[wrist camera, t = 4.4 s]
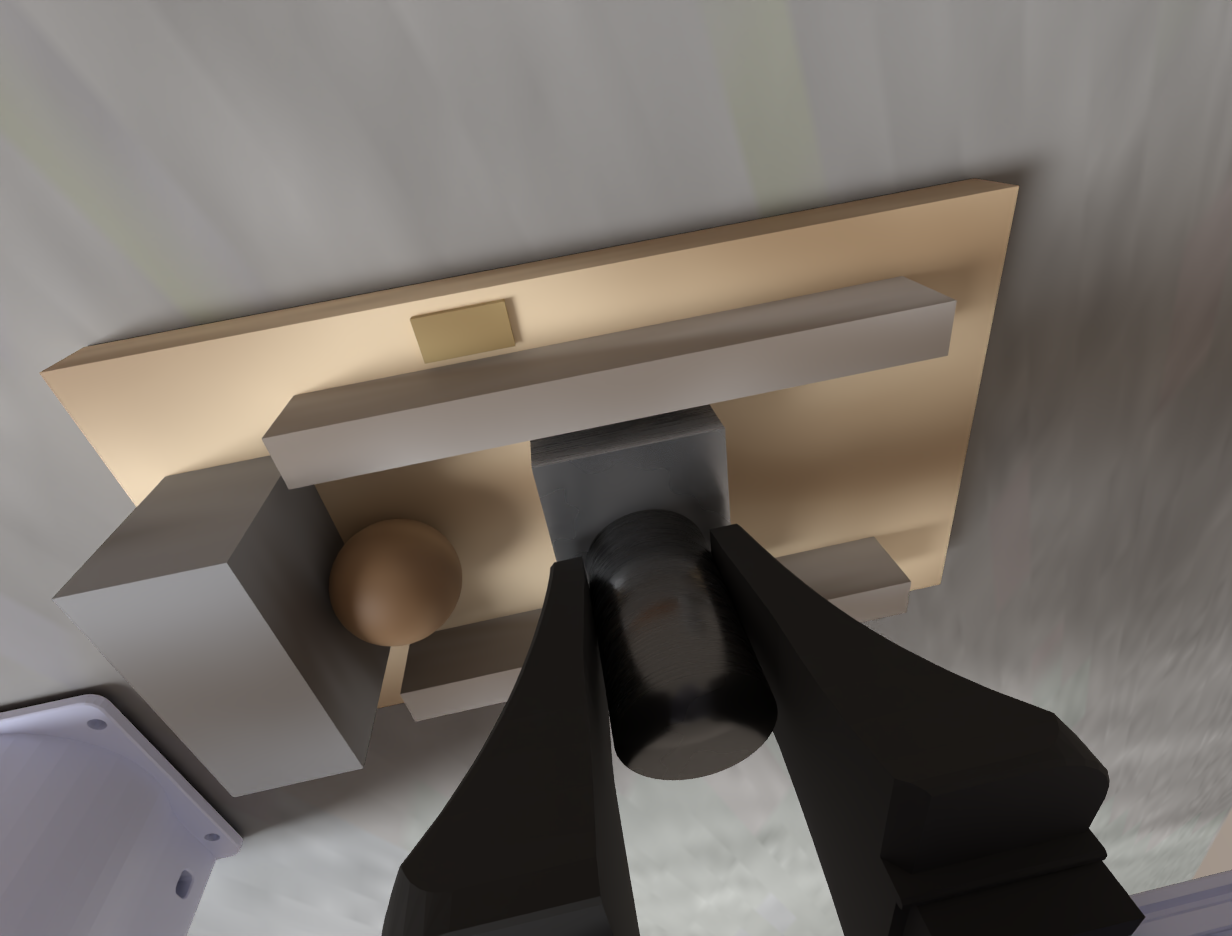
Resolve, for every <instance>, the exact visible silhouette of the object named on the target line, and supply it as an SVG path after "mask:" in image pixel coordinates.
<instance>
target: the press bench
mask: <svg viewBox="0 0 1232 936" xmlns="http://www.w3.org/2000/svg"><path fill="white" fill-rule="evenodd" d="M1018 189H1019V186H1018V185H1012V184H1006V183H1000V182H994V181H988V180H982V179H976V178H974V179H968V180H963V181H958V182H952V183H947V184H942V185H937V186H931V187H926V188H921V189H916V190H910V191H905V192H900V193H894V194H889V195H884V196H879V197H873V198H868V199H863V200H858V201H852V202H847V203H842V204H836V205H831V206H826V207H821V208H815V209H810V210H805V211H800V212H794V213H789V214H784V215H778V216H773V217H768V218H763V219H757V220H752V221H747V222H742V223H736V224H731V225H726V226H720V227H715V228H710V229H705V230H699V231H694V232H689V233H684V234H678V235H673V236H668V237H662V238H657V239H652V240H647V241H641V242H636V243H631V244H626V245H620V246H615V247H610V248H604V249H599V250H594V251H589V252H583V253H578V254H573V255H568V256H562V257H557V258H552V259H546V260H541V261H536V262H531V263H525V264H520V265H515V266H510V267H504V268H499V269H494V270H488V271H483V272H478V273H473V274H467V275H462V276H457V277H452V278H446V279H441V280H436V281H430V282H425V283H420V284H415V285H409V286H404V287H399V288H394V289H388V290H383V291H378V292H372V293H367V294H362V295H357V296H351V297H346V298H341V299H336V300H330V301H325V302H320V303H314V304H309V305H304V306H299V307H293V308H288V309H283V310H278V311H272V312H267V313H262V314H256V315H251V316H246V317H241V318H235V319H230V320H225V321H220V322H214V323H209V324H204V325H199V326H193V327H188V328H183V329H177V330H172V331H167V332H162V333H156V334H151V335H146V336H141V337H135V338H130V339H125V340H119V341H114V342H109V343H104V344H98V345H93V346H88V347H83V348H82V349H80V350H78V351H77V352H75V353H73V354H71V355H70V356H68V357H66V358H64V359H63V360H61V361H59V362H57V363H56V364H54V365H52V366H50V367H49V368H47V369H45V370H43V371H42V372H40V375H41V376H42V377H43V379H44V380H45V381H46V383H47V384H48V386H49V387H50V388H51V390H52V391H53V392H54V394H55V395H56V397H57V398H58V399H59V401H60V402H61V403H62V405H63V406H64V408H65V409H66V410H67V412H68V413H69V414H70V416H71V417H72V419H73V420H74V421H75V423H76V424H77V426H78V427H79V428H80V430H81V431H82V432H83V434H84V435H85V437H86V438H87V439H88V441H89V442H90V443H91V445H92V446H93V448H94V449H95V450H96V452H97V453H98V454H99V456H100V457H101V459H102V460H103V461H104V463H105V464H106V465H107V467H108V468H109V470H110V471H111V472H112V474H113V475H114V477H115V478H116V479H117V481H118V482H119V483H120V485H121V486H122V488H123V489H124V490H125V492H126V493H127V494H128V496H129V497H130V499H131V500H132V501H133V503H134V504H135V505H136V508H135V510H134V511H133V512H132V513H131V514H130V515H129V516H128V517H127V518H126V519H125V520H124V521H123V523H122V524H121V525H120V526H119V527H118V528H117V529H116V530H115V531H114V532H113V533H112V534H111V535H110V537H109V538H108V539H107V540H106V541H105V542H104V543H103V544H102V545H101V546H100V547H99V548H98V550H97V551H96V552H95V553H94V554H93V555H92V556H91V557H90V558H89V559H88V560H87V561H86V562H85V564H84V565H83V566H82V567H81V568H80V569H79V570H78V571H77V572H76V573H75V574H74V575H73V576H72V578H71V579H70V580H69V581H68V582H67V583H66V584H65V585H64V586H63V587H62V588H61V589H60V591H59V592H58V593H57V594H56V595H55V596H54V597H53V598H52V600H53V601H54V602H55V604H56V605H57V606H58V607H59V608H60V609H61V610H62V611H63V612H64V613H65V614H66V616H67V617H68V618H69V619H70V620H71V621H72V622H73V623H74V624H75V625H76V626H77V628H78V629H79V630H80V631H81V632H82V633H83V634H84V635H85V636H86V637H87V638H88V640H89V641H90V642H91V643H92V644H93V645H94V646H95V647H96V648H97V649H98V650H99V652H100V653H101V654H102V655H103V656H104V657H105V658H106V659H107V660H108V661H109V662H110V664H111V665H112V666H113V667H114V668H115V669H116V670H117V671H118V672H119V673H120V674H121V676H122V677H123V678H124V679H125V680H126V681H127V682H128V683H129V684H130V685H131V686H132V688H133V689H134V690H135V691H136V692H137V693H138V694H139V695H140V696H141V697H142V698H143V700H144V701H145V702H146V703H147V704H148V705H149V706H150V707H151V708H152V709H153V710H154V712H155V713H156V714H157V715H158V716H159V717H160V718H161V719H162V720H163V721H164V722H165V724H166V725H167V726H168V727H169V728H170V729H171V730H172V731H173V732H174V733H175V734H176V736H177V737H178V738H179V739H180V740H181V741H182V742H183V743H184V744H185V745H186V746H187V748H188V749H189V750H190V751H191V752H192V753H193V754H194V755H195V756H196V757H197V758H198V760H199V761H200V762H201V763H202V764H203V765H204V766H205V767H206V768H207V769H208V770H209V772H210V773H211V774H212V775H213V776H214V777H215V778H216V779H217V780H218V781H219V782H220V784H221V785H222V786H223V787H224V788H225V789H226V790H227V791H228V792H229V793H230V794H231V796H232V797H233V798H234V797H239V796H243V795H247V794H252V793H256V792H261V791H265V790H270V789H274V788H278V787H283V786H287V785H292V784H296V783H301V782H305V781H310V780H314V779H318V778H323V777H327V776H332V775H336V774H341V773H345V772H349V771H354V770H358V769H363V768H364V764H365V759H366V755H367V750H368V746H369V742H370V737H371V733H372V728H373V724H374V719H375V715H376V710H377V709H378V708H383V707H387V706H392V705H396V704H401V703H405V704H406V706H407V708H408V710H409V712H410V713H411V715H412V717H413V719H414V721H415V722H417V721H421V720H426V719H430V718H435V717H439V716H444V715H448V714H453V713H457V712H462V711H466V710H471V709H475V708H480V707H484V706H489V705H493V704H498V703H502V702H507V700H508V698H509V696H510V694H511V692H512V690H513V687H514V685H515V683H516V681H517V678H518V676H519V673H520V671H521V668H522V666H523V663H524V661H525V658H526V655H527V653H528V650H529V648H530V645H531V642H532V639H533V636H534V633H535V630H536V627H537V624H538V620H539V617H540V614H541V611H542V607H543V603H544V599H545V595H546V591H547V586H548V581H549V575H550V567H551V566H552V565H553V563H554V562H557V561H556V557H555V554H554V550H553V546H552V542H551V539H550V535H549V531H548V528H547V524H546V520H545V516H544V513H543V509H542V505H541V501H540V498H539V494H538V490H537V487H536V483H535V479H534V475H533V472H532V466H531V447H530V440H535V439H540V438H545V437H550V436H555V435H560V434H565V433H570V432H575V431H580V430H585V429H590V428H594V427H599V426H604V425H609V424H614V423H619V422H624V421H629V420H634V419H639V418H644V417H649V416H653V415H658V414H663V413H668V412H673V411H678V410H683V409H688V408H693V407H698V406H703V405H708V404H710V406H711V407H712V409H713V411H714V412H715V414H716V415H717V417H718V418H719V420H720V421H721V423H722V424H723V426H724V427H725V434H726V452H727V470H728V487H729V505H730V522H731V525H732V524H738V525H740V526H741V527H742V528H743V529H744V530H745V531H746V532H747V533H748V534H749V535H750V536H752V537H753V538H754V539H755V540H756V541H757V542H758V543H759V544H760V545H761V546H762V547H763V548H764V549H765V550H767V551H768V552H769V553H770V554H771V555H772V556H773V557H774V558H776V559H777V560H778V561H779V562H780V563H781V564H782V565H784V566H785V567H786V568H787V569H788V570H790V571H791V572H792V573H793V574H795V575H796V576H797V577H798V578H799V579H801V580H802V581H803V582H804V583H806V584H807V585H808V586H809V587H811V588H812V589H813V590H815V591H816V592H817V593H818V594H820V595H821V596H822V597H824V598H825V599H827V600H828V601H829V602H831V603H832V604H834V605H835V606H836V607H838V608H839V609H841V610H842V611H843V612H845V613H846V614H848V615H849V616H851V617H852V618H854V619H855V620H857V621H858V622H860V623H861V622H866V621H870V620H875V619H879V618H884V617H888V616H893V615H897V614H902V613H906V611H907V605H908V599H909V593H910V591H912V590H916V589H921V588H925V587H930V586H934V585H939V584H940V583H941V578H942V573H943V568H944V563H945V558H946V553H947V548H948V543H949V538H950V533H951V528H952V523H953V518H954V513H955V508H956V502H957V497H958V492H959V487H960V482H961V477H962V472H963V467H964V462H965V457H966V452H967V447H968V442H969V437H970V432H971V427H972V422H973V417H974V412H975V407H976V401H977V396H978V391H979V386H980V381H981V376H982V371H983V366H984V361H985V356H986V351H987V346H988V341H989V336H990V331H991V326H992V321H993V316H994V311H995V306H996V301H997V295H998V290H999V285H1000V280H1001V275H1002V270H1003V265H1004V260H1005V255H1006V250H1007V245H1008V240H1009V235H1010V230H1011V225H1012V220H1013V215H1014V210H1015V205H1016V200H1017V195H1018Z"/></svg>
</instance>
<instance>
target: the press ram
mask: <svg viewBox="0 0 1232 936" xmlns="http://www.w3.org/2000/svg"><path fill="white" fill-rule="evenodd" d="M530 447H531V466H532V472H533V475H534V479H535V483H536V487H537V490H538V494H539V498H540V501H541V505H542V509H543V513H544V516H545V520H546V524H547V528H548V531H549V535H550V539H551V542H552V546H553V550H554V554H555V557H556V561H557V562H558V561H563V560H567V559H572V558H577V557H581V556H582V559H583V563H584V568H585V572H586V576H587V580H588V585H589V589H590V595H591V602H592V608H593V614H594V621H595V627H596V633H597V640H598V646H599V653H600V659H601V665H602V672H603V678H604V684H605V691H606V697H607V703H608V710H609V716H610V723H611V729H612V735H613V742H614V748H615V751H616V754H617V756H618V757H619V759H620V761H621V762H622V763H623V764H624V765H625V766H626V767H628V768H629V769H631V770H632V771H634V772H636V773H638V774H641V775H643V776H646V777H650V778H654V779H662V780H685V779H693V778H698V777H703V776H707V775H711V774H714V773H717V772H720V771H722V770H725V769H727V768H729V767H732V766H733V765H735V764H737V763H739V762H741V761H742V760H744V759H746V758H747V757H749V756H750V755H751V754H752V753H754V752H755V751H756V750H757V749H758V748H759V747H761V746H762V745H763V743H764V742H765V741H766V740H767V739H768V737H769V736H770V734H771V733H772V731H773V729H774V727H775V724H776V721H777V715H778V708H777V703H776V700H775V698H774V695H773V693H772V691H771V689H770V686H769V684H768V682H767V679H766V677H765V675H764V673H763V670H762V668H761V666H760V663H759V661H758V659H757V657H756V654H755V652H754V650H753V647H752V645H751V643H750V641H749V638H748V636H747V634H746V632H745V629H744V627H743V625H742V622H741V620H740V618H739V616H738V613H737V611H736V609H735V606H734V604H733V602H732V600H731V597H730V595H729V593H728V590H727V588H726V586H725V584H724V581H723V579H722V577H721V575H720V572H719V570H718V568H717V565H716V563H715V561H714V559H713V556H712V554H711V542H710V530H709V529H713V528H718V527H722V526H727V525H731V522H730V505H729V487H728V470H727V452H726V434H725V427H724V426H723V424H722V423H721V421H720V420H719V418H718V417H717V415H716V414H715V412H714V411H713V409H712V407H711V406H710V404H708V405H703V406H698V407H693V408H688V409H683V410H678V411H673V412H668V413H663V414H658V415H653V416H649V417H644V418H639V419H634V420H629V421H624V422H619V423H614V424H609V425H604V426H599V427H594V428H590V429H585V430H580V431H575V432H570V433H565V434H560V435H555V436H550V437H545V438H540V439H535V440H530Z"/></svg>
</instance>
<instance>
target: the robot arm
mask: <svg viewBox="0 0 1232 936" xmlns="http://www.w3.org/2000/svg"><path fill="white" fill-rule="evenodd" d="M709 530H710V542H711V554H712V556H713V559H714V561H715V563H716V565H717V568H718V570H719V572H720V575H721V577H722V579H723V581H724V584H725V586H726V588H727V590H728V593H729V595H730V597H731V600H732V602H733V604H734V606H735V609H736V611H737V613H738V616H739V618H740V620H741V622H742V625H743V627H744V629H745V632H746V634H747V636H748V638H749V641H750V643H751V645H752V647H753V650H754V652H755V654H756V657H757V659H758V661H759V663H760V666H761V668H762V670H763V673H764V675H765V677H766V679H767V682H768V684H769V686H770V689H771V691H772V693H773V695H774V698H775V700H776V703H777V708H778V715H777V721H776V724H775V727H774V729H773V733H774V735H775V737H776V740H777V742H778V744H779V747H780V750H781V752H782V755H783V758H784V761H785V763H786V766H787V769H788V772H789V774H790V777H791V780H792V782H793V785H794V788H795V791H796V794H797V796H798V799H799V802H800V805H801V808H802V811H803V813H804V816H805V819H806V822H807V825H808V828H809V831H810V833H811V836H812V839H813V842H814V845H815V848H816V851H817V854H818V857H819V860H820V863H821V866H822V869H823V872H824V875H825V878H826V881H827V884H828V887H829V890H830V893H831V896H832V899H833V902H834V905H835V908H836V911H837V914H838V917H839V920H840V923H841V927H842V930H843V933H844V936H1232V870H1230V871H1225V872H1221V873H1217V874H1213V875H1209V876H1205V877H1201V878H1198V879H1194V880H1189V881H1185V882H1181V883H1177V884H1173V885H1169V886H1165V887H1161V888H1157V889H1153V890H1149V891H1145V892H1141V893H1137V894H1133V895H1128V894H1127V892H1126V891H1125V890H1124V888H1123V887H1122V886H1121V885H1120V883H1119V882H1118V881H1117V879H1116V878H1115V877H1114V876H1113V874H1112V873H1111V872H1110V870H1109V869H1108V868H1107V867H1106V865H1105V864H1104V863H1103V861H1102V860H1105V859H1106V857H1107V853H1106V850H1105V848H1104V847H1103V846H1102V844H1101V843H1100V842H1099V840H1098V839H1097V838H1096V837H1095V835H1094V834H1093V833H1092V832H1091V830H1090V829H1089V827H1090V825H1091V823H1092V821H1093V819H1094V817H1095V816H1096V814H1097V812H1098V810H1099V808H1100V806H1101V805H1102V803H1103V801H1104V799H1105V797H1106V794H1107V791H1108V788H1109V776H1108V771H1107V769H1106V768H1105V767H1104V766H1103V765H1102V764H1101V763H1100V761H1099V760H1098V759H1097V758H1096V757H1095V756H1094V755H1093V754H1092V752H1091V751H1090V750H1089V749H1088V748H1087V746H1086V745H1085V744H1084V743H1083V742H1082V741H1081V740H1080V739H1079V738H1078V737H1077V735H1076V734H1075V733H1074V732H1072V731H1071V730H1070V729H1069V728H1068V727H1067V726H1066V725H1065V724H1064V723H1063V722H1062V721H1061V720H1060V719H1059V718H1058V717H1057V716H1056V715H1055V714H1054V713H1052V712H1050V711H1047V710H1044V709H1042V708H1039V707H1036V706H1034V705H1031V704H1028V703H1026V702H1023V701H1020V700H1018V699H1015V698H1012V697H1010V696H1007V695H1004V694H1002V693H999V692H996V691H994V690H991V689H989V688H986V687H984V686H982V685H979V684H977V683H975V682H973V681H970V680H968V679H966V678H964V677H961V676H959V675H957V674H954V673H952V672H950V671H948V670H946V669H944V668H942V667H940V666H937V665H935V664H933V663H932V662H930V661H928V660H926V659H924V658H922V657H920V656H918V655H916V654H914V653H912V652H910V651H908V650H906V649H904V648H902V647H900V646H898V645H897V644H895V643H893V642H891V641H890V640H888V639H886V638H884V637H883V636H881V635H879V634H878V633H876V632H874V631H873V630H871V629H870V628H868V627H866V626H865V625H863V624H862V623H860V622H858V621H857V620H855V619H854V618H852V617H851V616H849V615H848V614H846V613H845V612H843V611H842V610H841V609H839V608H838V607H836V606H835V605H834V604H832V603H831V602H829V601H828V600H827V599H825V598H824V597H822V596H821V595H820V594H818V593H817V592H816V591H815V590H813V589H812V588H811V587H809V586H808V585H807V584H806V583H804V582H803V581H802V580H801V579H799V578H798V577H797V576H796V575H795V574H793V573H792V572H791V571H790V570H788V569H787V568H786V567H785V566H784V565H782V564H781V563H780V562H779V561H778V560H777V559H776V558H774V557H773V556H772V555H771V554H770V553H769V552H768V551H767V550H765V549H764V548H763V547H762V546H761V545H760V544H759V543H758V542H757V541H756V540H755V539H754V538H753V537H752V536H750V535H749V534H748V533H747V532H746V531H745V530H744V529H743V528H742V527H741V526H740V525H738V524H732V525H727V526H722V527H718V528H713V529H709ZM242 844H243V839H242V837H241V836H240V835H239V834H238V833H237V832H236V831H235V830H234V829H233V828H232V827H231V826H230V825H229V824H228V823H227V822H226V821H225V820H224V819H223V817H222V816H221V815H220V814H219V813H218V812H217V811H216V810H215V809H214V808H213V807H212V806H211V805H210V804H209V803H208V802H207V801H206V800H205V799H204V798H203V797H202V796H201V795H200V794H199V793H198V792H197V791H196V790H195V789H194V788H193V786H192V785H191V784H190V783H189V782H188V781H187V780H186V779H185V778H184V777H183V776H182V775H181V774H180V773H179V772H178V771H177V770H176V769H175V768H174V767H173V766H172V765H171V764H170V763H169V762H168V761H167V760H166V759H165V758H164V756H163V755H162V754H161V753H160V752H159V751H158V750H157V749H156V748H155V747H154V746H153V745H152V744H151V743H150V742H149V741H148V740H147V739H146V738H145V737H144V736H143V735H142V734H141V733H140V732H139V731H138V730H137V729H136V728H135V727H134V725H133V724H132V723H131V722H130V721H129V720H128V719H127V718H126V717H125V716H124V715H123V714H122V713H121V712H120V711H119V710H118V709H117V708H116V707H115V706H114V705H113V704H112V703H111V702H110V701H109V700H108V699H107V698H105V697H103V696H100V695H95V694H86V695H81V696H76V697H72V698H67V699H62V700H58V701H53V702H48V703H44V704H39V705H34V706H30V707H25V708H20V709H16V710H11V711H7V712H2V713H0V936H186V935H187V933H188V930H189V928H190V925H191V922H192V920H193V917H194V915H195V912H196V910H197V907H198V904H199V902H200V899H201V897H202V894H203V892H204V889H205V887H206V884H207V881H208V879H209V876H210V874H211V871H212V869H213V866H214V864H215V861H216V859H221V858H225V857H230V856H233V855H236V854H237V853H238V852H240V849H241V846H242ZM382 936H640V933H639V928H638V922H637V916H636V910H635V904H634V898H633V892H632V886H631V880H630V874H629V868H628V862H627V856H626V850H625V844H624V838H623V832H622V826H621V820H620V814H619V808H618V802H617V796H616V789H615V783H614V774H613V765H612V753H611V739H610V726H609V712H608V703H607V697H606V691H605V684H604V678H603V672H602V665H601V659H600V653H599V646H598V640H597V633H596V627H595V621H594V614H593V608H592V602H591V595H590V589H589V585H588V580H587V576H586V572H585V568H584V563H583V559H582V556H581V557H577V558H572V559H567V560H563V561H558V562H554V563H553V565H552V566H551V567H550V575H549V581H548V586H547V591H546V595H545V599H544V603H543V607H542V611H541V614H540V617H539V620H538V624H537V627H536V630H535V633H534V636H533V639H532V642H531V645H530V648H529V650H528V653H527V655H526V658H525V661H524V663H523V666H522V668H521V671H520V673H519V676H518V678H517V681H516V683H515V685H514V687H513V690H512V692H511V694H510V696H509V698H508V700H507V702H506V704H505V707H504V709H503V711H502V713H501V715H500V717H499V719H498V720H497V722H496V724H495V726H494V728H493V730H492V731H491V733H490V735H489V737H488V739H487V741H486V742H485V744H484V746H483V748H482V749H481V751H480V753H479V755H478V756H477V758H476V760H475V761H474V763H473V765H472V766H471V768H470V769H469V771H468V772H467V774H466V775H465V777H464V778H463V780H462V781H461V783H460V784H459V786H458V788H457V789H456V791H455V792H454V794H453V795H452V797H451V798H450V800H449V801H448V803H447V804H446V806H445V807H444V809H443V810H442V811H441V813H440V814H439V816H438V817H437V818H436V820H435V821H434V822H433V824H432V825H431V826H430V828H429V829H428V830H427V832H426V833H425V834H424V836H423V837H422V838H421V840H420V841H419V842H418V843H417V845H416V846H415V847H414V849H413V850H412V851H411V853H410V854H409V855H408V857H407V858H406V859H405V860H404V862H403V863H402V864H401V866H400V868H399V871H398V874H397V877H396V880H395V883H394V887H393V890H392V893H391V897H390V901H389V905H388V909H387V912H386V916H385V920H384V925H383V930H382Z"/></svg>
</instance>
